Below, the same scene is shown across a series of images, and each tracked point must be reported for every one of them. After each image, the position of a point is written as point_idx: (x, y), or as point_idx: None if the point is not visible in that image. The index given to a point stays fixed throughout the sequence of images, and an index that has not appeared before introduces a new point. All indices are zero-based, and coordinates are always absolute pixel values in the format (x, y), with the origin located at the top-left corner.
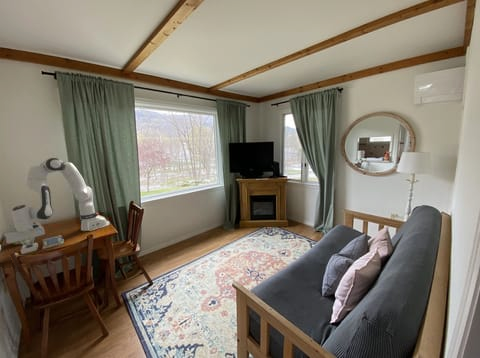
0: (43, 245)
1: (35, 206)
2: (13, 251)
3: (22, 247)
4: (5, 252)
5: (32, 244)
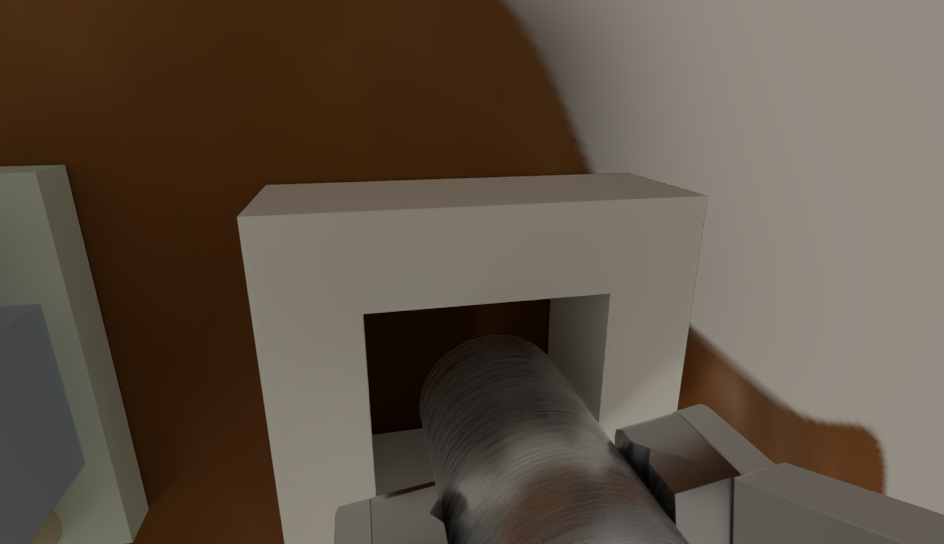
0: (86, 390)
1: None
2: None
3: None
4: None
5: None
